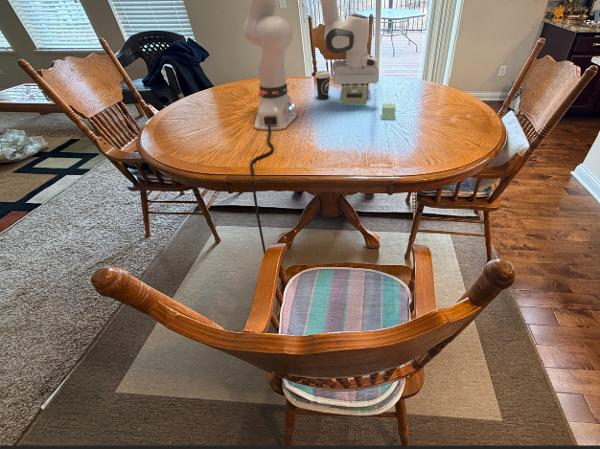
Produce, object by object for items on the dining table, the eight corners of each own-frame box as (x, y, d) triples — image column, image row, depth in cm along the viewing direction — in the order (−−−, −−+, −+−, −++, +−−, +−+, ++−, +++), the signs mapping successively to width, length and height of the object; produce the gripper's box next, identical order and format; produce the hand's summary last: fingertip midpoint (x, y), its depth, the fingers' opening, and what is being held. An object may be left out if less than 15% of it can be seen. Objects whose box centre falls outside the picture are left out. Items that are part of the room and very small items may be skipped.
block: (394, 119, 130) (395, 108, 127) (382, 119, 131) (383, 108, 127) (393, 115, 134) (394, 103, 130) (381, 115, 134) (382, 103, 131)
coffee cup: (328, 94, 159) (329, 69, 152) (331, 99, 154) (332, 73, 146) (314, 96, 159) (313, 71, 151) (316, 100, 153) (316, 75, 145)
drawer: (366, 107, 140) (367, 89, 135) (341, 107, 142) (341, 89, 137) (365, 94, 154) (367, 77, 149) (343, 94, 155) (343, 78, 150)
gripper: (331, 62, 129) (331, 95, 138) (380, 61, 126) (377, 95, 135) (332, 58, 133) (332, 91, 142) (380, 57, 130) (376, 90, 139)
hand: (354, 93), depth 139 cm, fingers closed, pressing on drawer
